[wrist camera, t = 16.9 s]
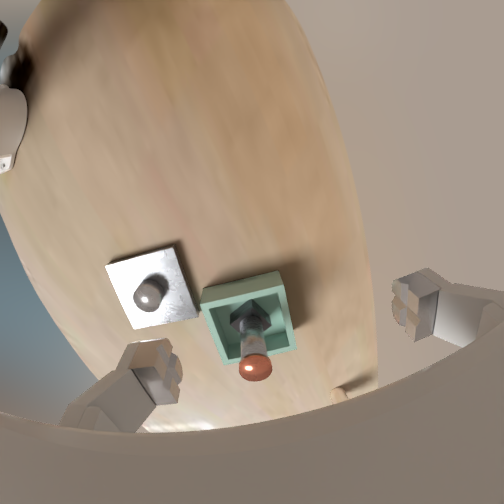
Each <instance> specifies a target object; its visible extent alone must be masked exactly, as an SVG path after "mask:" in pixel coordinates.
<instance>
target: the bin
mask: <svg viewBox="0 0 504 504" xmlns="http://www.w3.org/2000/svg"><path fill="white" fill-rule="evenodd" d="M250 299H253V300H254V301H255V302H256V303H257V304H258V305H259V306H260V307H261V308H263V309H264V310H265V311H266V312H267V313H268V314H269V315H270V319H271V324H272V326H271V327H269V328H268V329H267V330H265V331H264V338H265V344H266V350H267V356H271V355H275V354H279V353H283V352H287V351H291V350H295V349H297V347H296V342H295V337H294V332H293V327H292V322H291V317H290V312H289V308H288V303H287V298H286V293H285V288H284V284H283V281H282V279H281V276H280V273H279V271H274V272H270V273H266V274H262V275H257V276H253V277H249V278H245V279H241V280H237V281H233V282H228V283H224V284H220V285H216V286H212V287H207V288H203V292H202V296H201V301H200V306H201V309H202V312H203V314H204V317H205V319H206V322H207V325H208V327H209V330H210V332H211V335H212V337H213V340H214V342H215V345H216V347H217V350H218V352H219V354H220V357H221V359H222V362H223V364H224V365H228V364H233V363H238V362H240V360H241V345H240V333H239V332H238V331H236V330H235V329H234V328H233V327H232V326H231V325H230V314H231V313H232V312H234V311H235V310H236V309H237V308H239V307H240V306H241V305H242V304H244V303H245V302H246V301H248V300H250Z"/></svg>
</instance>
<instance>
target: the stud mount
mask: <svg viewBox="0 0 504 504" xmlns="http://www.w3.org/2000/svg"><path fill="white" fill-rule="evenodd" d="M105 267H106V269H107V271H108V274H109V276H110V279H111V281H112V283H113V286H114V288H115V290H116V292H117V295H118V297H119V299H120V301H121V303H122V306H123V308H124V310H125V312H126V314H127V316H128V318H129V320H130V322H131V324H132V326H133V328H134V329H138V328H143V327H149V326H155V325H160V324H165V323H171V322H176V321H181V320H186V319H191V318H196V317H198V316H199V310H198V308H197V305H196V302H195V300H194V297H193V294H192V292H191V289H190V286H189V284H188V281H187V278H186V275H185V272H184V270H183V267H182V264H181V261H180V258H179V255H178V252H177V249H176V246H175V244H174V245H170V246H167V247H163V248H160V249H156V250H152V251H149V252H145V253H142V254H138V255H134V256H131V257H127V258H124V259H120V260H117V261H113V262H110V263H108V264H107V265H106V266H105Z"/></svg>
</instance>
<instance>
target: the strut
mask: <svg viewBox="0 0 504 504" xmlns="http://www.w3.org/2000/svg"><path fill="white" fill-rule="evenodd" d="M230 325H231V326H232V327H233V328H234V329H235V330H236V331H238V332H239V333H240V345H241V360H240V363H239V373H240V375H241V376H242V377H243V378H244V379H246V380H248V381H261V380H264V379H266V378H267V377H268V376H269V375H270V374H271V372H272V365H271V360H270V359H269V358H268V356H267V350H266V344H265V338H264V331H265V330H267V329H268V328H269V327H271V326H272V324H271V319H270V315H269V314H268V313H267V312H266V311H265V310H264V309H263V308H261V307H260V306H259V305H258V304H257V303H256V302H255V301H254V300H253V299H250V300H248V301H246V302H245V303H244V304H242V305H241V306H240V307H239V308H237V309H236V310H235V311H234V312H232V313H231V314H230Z"/></svg>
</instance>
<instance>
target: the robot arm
mask: <svg viewBox="0 0 504 504" xmlns="http://www.w3.org/2000/svg"><path fill="white" fill-rule="evenodd" d="M26 120H27V103H26V99H25V96H24V94H23V93H22V92H21V91H20V90H18V89H10V88H9V87H8V86H7V85H6V84H1V85H0V174H2V173H4V172H7V171H9V170H11V169H12V167H13V164H14V159H15V154H16V151H17V148H18V146H19V144H20V142H21V139H22V137H23V134H24V130H25V126H26ZM392 292H393V293H394V294H395V297H394V299H393V300H392V312H393V316H394V318H395V320H396V321H397V323H398V324H399V325H401V326H405V327H406V329H405V332H406V333H407V334H408V335H409V337H410V338H411V339H412V340H413V341H414V342H415V341H418V340H420V339H423V338H425V337H427V336H430V335H432V334H433V335H434V336H437V337H439V338H441V339H443V340H446V341H449V342H451V343H453V344H455V345H458V346H460V347H462V348H461V349H460V350H458V351H457V352H455V353H453V354H451V355H449V356H447V357H446V358H444V359H442V360H440V361H438V362H436V363H434V364H432V365H430V366H428V367H426V368H424V369H422V370H421V371H418V372H416V373H414V374H412V375H410V376H408V377H405V378H403V379H401V380H399V381H396V382H394V383H391V384H389V385H387V386H384V387H382V388H379V389H376V390H374V391H371V392H368V393H366V394H363V395H360V396H357V397H354V398H352V399H349V400H346V401H343V402H339V403H336V404H333V405H330V406H326V407H323V408H320V409H316V410H312V411H309V412H305V413H301V414H297V415H293V416H288V417H284V418H280V419H275V420H270V421H265V422H260V423H254V424H248V425H242V426H235V427H228V428H220V429H211V430H201V431H188V432H168V433H135V432H136V431H137V430H138V428H139V427H140V426H141V425H142V424H143V422H144V421H145V420H146V419H147V417H148V416H149V415H150V414H151V413H152V411H153V410H154V409H155V408H156V405H166V404H175V403H178V398H179V393H180V389H179V387H178V384H179V383H180V382H181V381H182V376H183V373H182V366H181V363H180V360H179V358H178V356H176V355H175V354H173V353H172V352H171V351H172V348H173V346H172V345H171V343H170V341H169V339H167V338H161V339H154V340H146V341H139V342H132V343H129V344H128V345H127V347H126V349H125V351H124V353H123V355H122V357H121V359H120V361H119V364H118V366H117V368H116V370H115V371H111V372H110V373H108V374H107V375H106V376H105V377H103V378H102V379H101V380H99V381H98V382H97V383H96V384H94V385H93V386H92V387H90V388H89V389H88V390H87V391H85V392H84V393H83V394H81V395H80V396H79V397H78V398H76V399H75V400H74V401H72V402H71V403H70V404H69V405H68V407H67V409H66V411H65V413H64V415H63V417H62V419H61V421H60V423H59V425H52V424H46V423H42V422H37V421H32V420H28V419H24V418H20V417H16V416H12V415H9V414H6V413H2V412H0V504H504V292H503V291H497V290H491V289H486V288H480V287H474V286H469V285H463V284H457V283H454V284H451V283H450V282H448V281H447V280H445V279H444V278H443V277H441V276H440V275H438V274H437V273H435V272H434V271H432V270H431V269H429V268H424V269H422V270H419V271H417V272H415V273H412V274H409V275H407V276H404V277H402V278H399V279H396V280H394V281H393V284H392Z"/></svg>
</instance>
